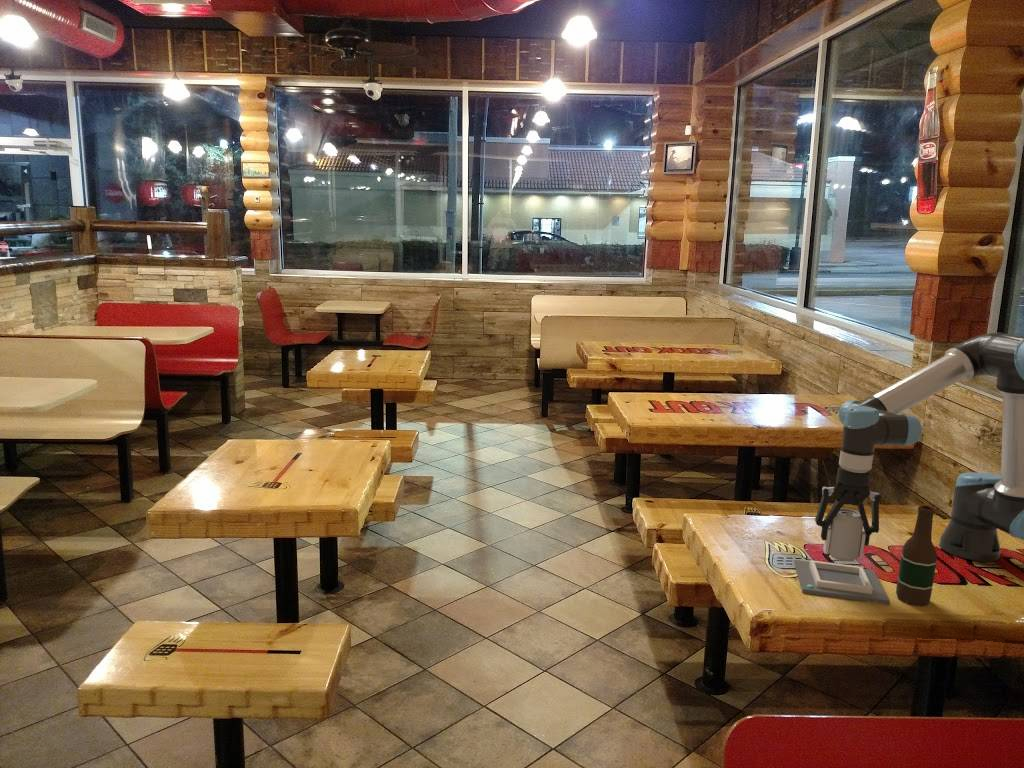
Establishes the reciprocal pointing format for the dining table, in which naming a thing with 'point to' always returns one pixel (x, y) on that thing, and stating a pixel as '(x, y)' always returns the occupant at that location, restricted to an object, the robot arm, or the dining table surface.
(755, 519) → the dining table surface
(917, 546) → the beer bottle
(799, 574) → the dock
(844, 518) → the can
